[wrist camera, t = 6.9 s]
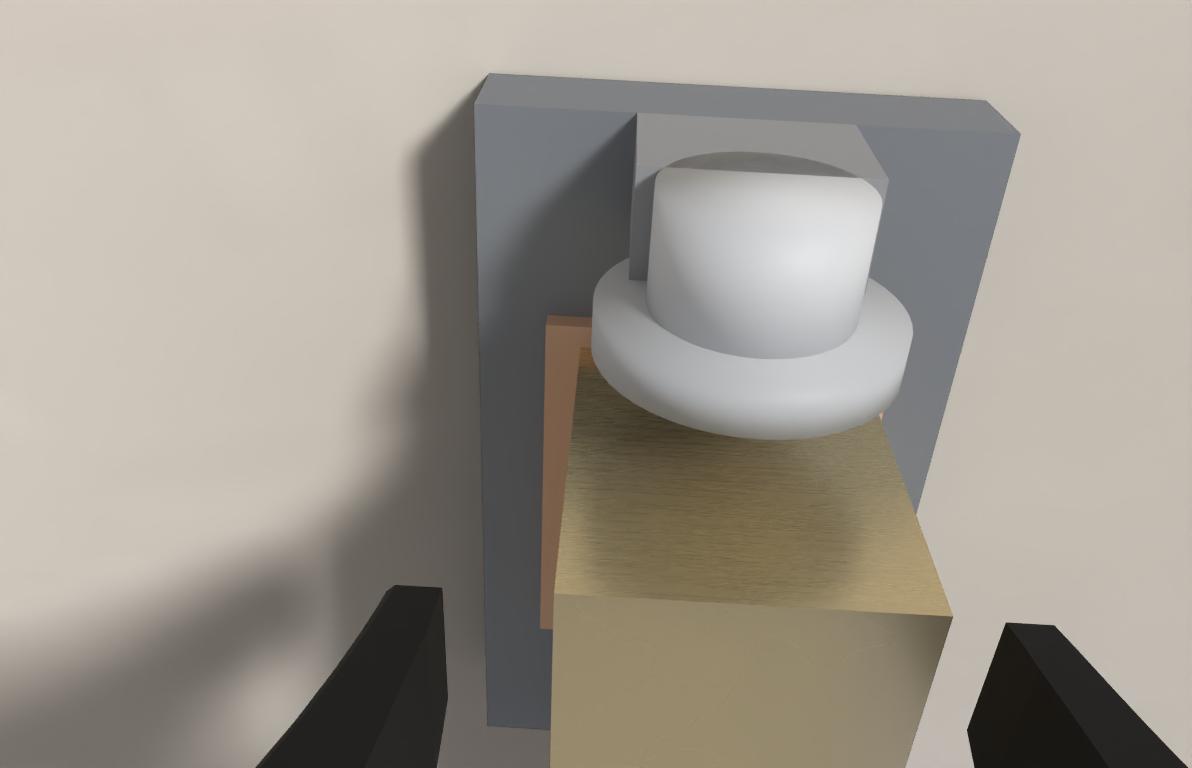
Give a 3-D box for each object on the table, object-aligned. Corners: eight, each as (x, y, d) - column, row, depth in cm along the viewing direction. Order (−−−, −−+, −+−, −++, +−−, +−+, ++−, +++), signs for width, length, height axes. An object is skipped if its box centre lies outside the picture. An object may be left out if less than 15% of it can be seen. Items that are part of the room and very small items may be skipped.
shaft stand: (838, 687, 20) (901, 981, 15) (497, 666, 20) (450, 952, 15) (986, 100, 14) (1175, 282, 9) (489, 73, 14) (405, 238, 9)
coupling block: (807, 615, 17) (862, 901, 13) (571, 602, 17) (547, 883, 13) (859, 362, 14) (953, 617, 10) (579, 347, 14) (554, 593, 10)
